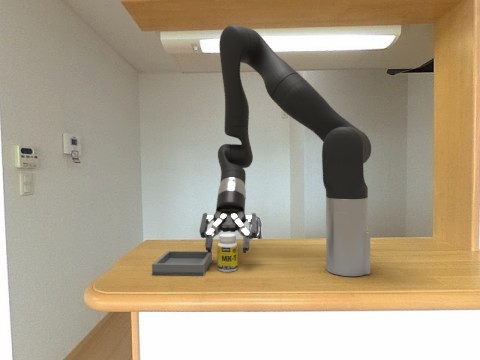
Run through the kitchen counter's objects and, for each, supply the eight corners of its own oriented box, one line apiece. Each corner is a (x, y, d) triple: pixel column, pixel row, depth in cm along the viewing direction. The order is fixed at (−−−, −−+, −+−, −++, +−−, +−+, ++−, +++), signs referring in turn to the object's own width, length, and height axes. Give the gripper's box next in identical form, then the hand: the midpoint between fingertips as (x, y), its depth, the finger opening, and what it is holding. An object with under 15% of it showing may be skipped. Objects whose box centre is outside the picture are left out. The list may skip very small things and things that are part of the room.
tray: (212, 260, 89) (212, 251, 89) (203, 275, 77) (203, 264, 77) (167, 260, 90) (167, 250, 90) (152, 275, 78) (151, 264, 78)
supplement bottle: (220, 273, 78) (219, 237, 78) (216, 267, 83) (215, 233, 83) (240, 271, 80) (239, 236, 79) (235, 265, 84) (234, 232, 84)
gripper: (203, 189, 88) (194, 242, 78) (257, 188, 87) (256, 243, 76) (207, 206, 94) (199, 259, 83) (258, 206, 93) (257, 259, 82)
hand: (226, 251), depth 80 cm, fingers open, 8 cm apart
